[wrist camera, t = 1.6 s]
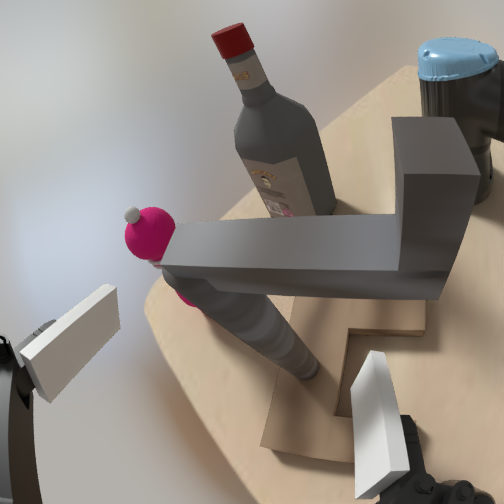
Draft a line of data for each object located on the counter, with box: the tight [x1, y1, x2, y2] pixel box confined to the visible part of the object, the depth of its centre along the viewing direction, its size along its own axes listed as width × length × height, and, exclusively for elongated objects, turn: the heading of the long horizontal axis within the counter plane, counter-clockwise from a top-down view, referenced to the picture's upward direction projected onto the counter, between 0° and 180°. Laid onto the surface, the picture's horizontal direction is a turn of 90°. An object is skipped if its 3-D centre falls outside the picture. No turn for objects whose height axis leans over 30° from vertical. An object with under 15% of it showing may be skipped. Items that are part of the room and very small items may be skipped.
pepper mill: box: [124, 207, 203, 312], centre depth 35 cm, size 7×7×20 cm
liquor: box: [211, 23, 337, 218], centre depth 34 cm, size 9×9×30 cm
